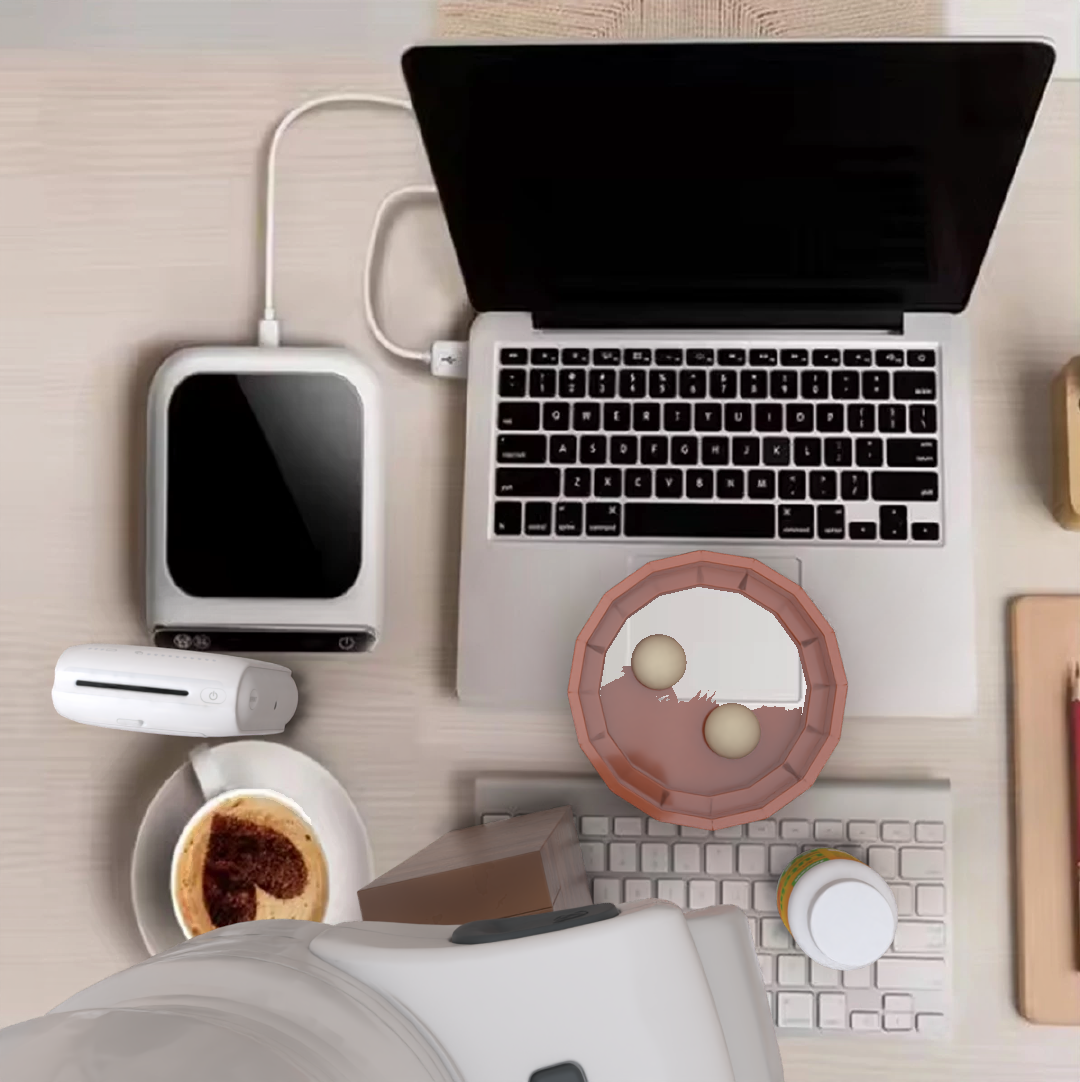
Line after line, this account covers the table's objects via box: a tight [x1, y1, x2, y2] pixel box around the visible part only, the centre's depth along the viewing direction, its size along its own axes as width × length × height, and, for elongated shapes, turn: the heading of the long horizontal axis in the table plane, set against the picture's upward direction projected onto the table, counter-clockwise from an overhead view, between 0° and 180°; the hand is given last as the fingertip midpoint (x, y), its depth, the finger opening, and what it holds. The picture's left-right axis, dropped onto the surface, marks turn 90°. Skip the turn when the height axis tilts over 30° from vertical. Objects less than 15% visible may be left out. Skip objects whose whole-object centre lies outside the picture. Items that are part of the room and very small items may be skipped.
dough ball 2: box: [705, 703, 761, 759], centre depth 75 cm, size 3×3×3 cm
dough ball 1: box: [631, 634, 687, 690], centre depth 76 cm, size 3×3×3 cm
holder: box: [356, 804, 594, 925], centre depth 64 cm, size 7×7×26 cm
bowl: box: [566, 549, 849, 832], centre depth 75 cm, size 14×14×6 cm
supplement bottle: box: [775, 847, 899, 971], centre depth 71 cm, size 5×5×10 cm
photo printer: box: [50, 642, 299, 738], centre depth 73 cm, size 10×4×12 cm, turn 84°
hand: (390, 1022), depth 39 cm, fingers open, 8 cm apart
